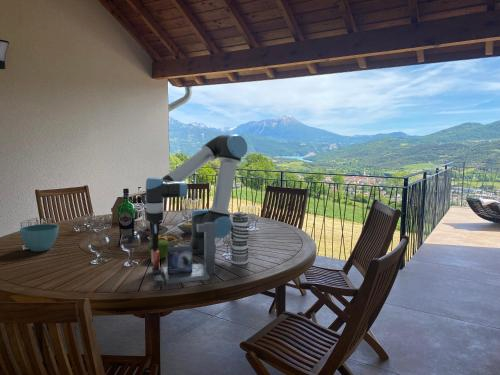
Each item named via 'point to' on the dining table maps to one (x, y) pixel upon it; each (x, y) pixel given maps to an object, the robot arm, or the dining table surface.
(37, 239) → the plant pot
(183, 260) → the small box
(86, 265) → the dining table surface
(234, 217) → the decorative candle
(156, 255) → the lever
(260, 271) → the dining table surface
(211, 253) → the press
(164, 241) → the apple
